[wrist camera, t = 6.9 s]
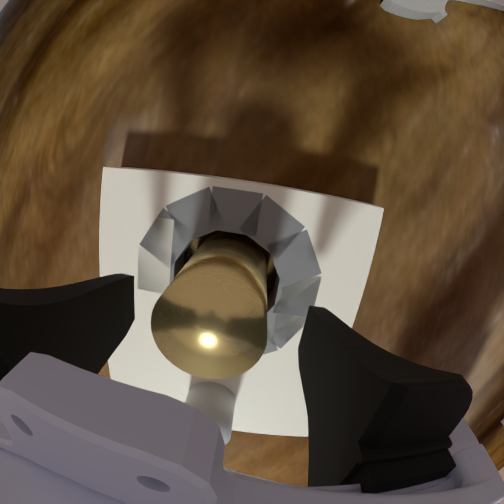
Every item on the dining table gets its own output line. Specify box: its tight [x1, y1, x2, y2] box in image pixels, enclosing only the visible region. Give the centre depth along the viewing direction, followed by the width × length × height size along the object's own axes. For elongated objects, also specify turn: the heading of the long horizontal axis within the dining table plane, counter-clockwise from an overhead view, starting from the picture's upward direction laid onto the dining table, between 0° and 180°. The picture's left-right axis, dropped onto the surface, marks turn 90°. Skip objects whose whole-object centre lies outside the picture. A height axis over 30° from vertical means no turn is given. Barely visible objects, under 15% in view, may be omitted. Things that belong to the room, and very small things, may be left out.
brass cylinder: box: [151, 231, 267, 379], centre depth 13 cm, size 4×4×7 cm
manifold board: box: [99, 167, 384, 445], centre depth 14 cm, size 14×16×5 cm
